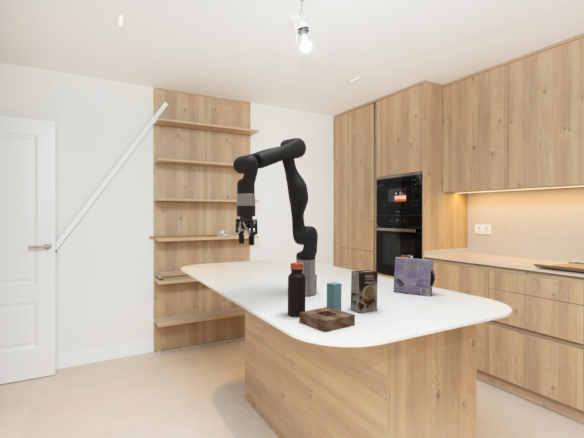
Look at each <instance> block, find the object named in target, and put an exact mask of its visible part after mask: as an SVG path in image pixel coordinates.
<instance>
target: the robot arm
mask: <svg viewBox="0 0 584 438" xmlns="http://www.w3.org/2000/svg"><path fill="white" fill-rule="evenodd" d="M306 151H307V146H306V143H305V141H304V140H303V139H301V138H297V137H295V138H289V139H284V140H283V141H281V142H280V146H275V147H271V148H267V149H263V150H260V151H259V150H258V151H257V152H254V153H250V154H246V155H245V154H244V155H241V156H238V157H236V158H235V159H234V161H233V165H232V166H233V170H234V171H235V172H236V173H237V174H240V175H241V174H242V175H243V176H242V178H241V179H239V180H238V181H237V186H236V187H237V190H236V191H237V192H236V216H237V217H239V218H236V219H235V233H236V234H237V235H238V245H243V244H245V232H247V235H248V246H254V245H255V236H256V235H257V234H258V220H257V219H255V218H254V219H253V217H255V216H256V195H255V192H256V191H255V183H256V179H257V175H258V170H259V169H263V168H265V167H269V166H271V165H274V164H276V163H278V162H282V165H283V169H284V173H285V178H286V179H285V180H286V186H287V193H288V200H289V205H290V213H291V221H292V222H291V223H292V226H291V227H292V238H293V240H294V242H295V243H296V244H297V245H301V246H302V250H301V251H299V252H297V253H296V260H295V261H296V262H295V263H303V271H302V273H303V274H304V275H305V277H306V280H305V297H311V296H315V295H317V293H318V290H317V289H318V287H317V285H318V284H317V282H318V281H317V278H318V276H317V274H316V256H317V252H318V242H319V241H318V239H319V238H318V237H319V235H318V231H317V229H316V227H315V226H310V225H308V226H307V225H305V219H304V218H305V217H304V216H305V211H306V208H307V206H308V203H309V192H308V187H307V183H306V181H305V180H304V178H303V177H302V175H301V174H300V173H299V171H298V169H297V167H296V163H295V159H299V158H302V157H303V156H304V155H305V153H306Z"/></svg>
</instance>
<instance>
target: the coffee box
mask: <svg viewBox="0 0 584 438" xmlns="http://www.w3.org/2000/svg"><path fill="white" fill-rule="evenodd" d="M378 276H379V275H378V271H375V270H372V269H371V270H370V269H364V270H363V269H362V270H359V269H358V270H352V271H351V275H350V277H351V281H350V283H351V284H350V285H351V286H350V310H351V311H354V312H357V313H358V312H359V314H361V313H362V312H363V313H369V311H370V312H374V311H375V312H376V310H377V311H378ZM363 313H362V314H363Z"/></svg>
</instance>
